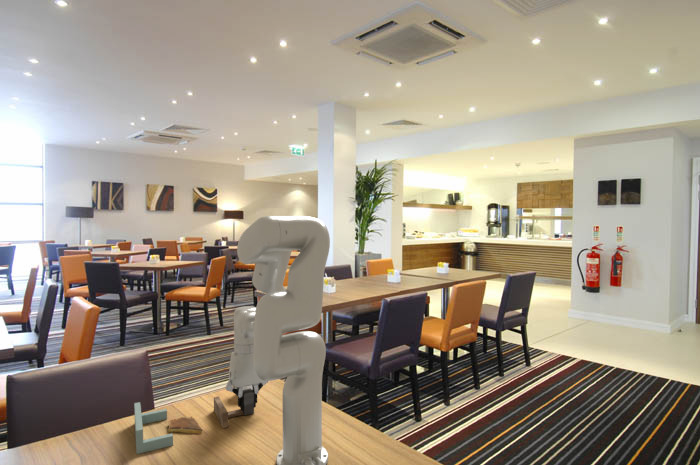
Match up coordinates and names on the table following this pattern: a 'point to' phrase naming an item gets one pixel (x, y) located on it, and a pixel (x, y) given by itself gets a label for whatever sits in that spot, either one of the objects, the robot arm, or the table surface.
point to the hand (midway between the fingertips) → (247, 406)
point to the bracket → (139, 420)
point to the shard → (184, 425)
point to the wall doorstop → (224, 415)
